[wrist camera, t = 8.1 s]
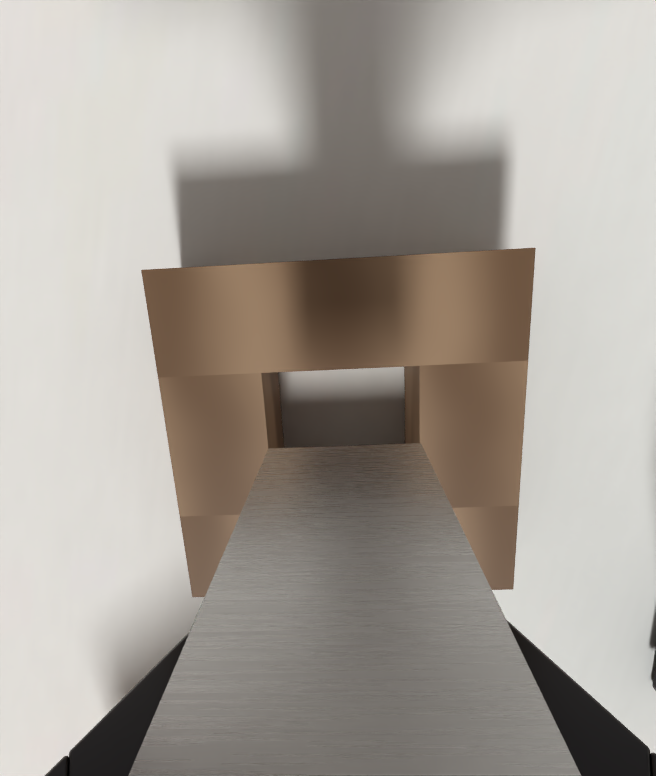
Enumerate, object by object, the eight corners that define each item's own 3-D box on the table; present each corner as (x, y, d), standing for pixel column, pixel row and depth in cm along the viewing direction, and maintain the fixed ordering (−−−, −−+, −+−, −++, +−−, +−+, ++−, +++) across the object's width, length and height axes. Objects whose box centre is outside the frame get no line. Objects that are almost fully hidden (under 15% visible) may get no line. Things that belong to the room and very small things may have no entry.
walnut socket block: (495, 253, 19) (535, 247, 15) (483, 535, 22) (513, 589, 18) (181, 271, 19) (141, 269, 15) (217, 542, 23) (192, 596, 19)
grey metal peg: (421, 442, 11) (969, 1583, 1) (420, 574, 12) (739, 1777, 2) (268, 448, 11) (-182, 1500, 2) (280, 578, 12) (48, 1713, 3)
